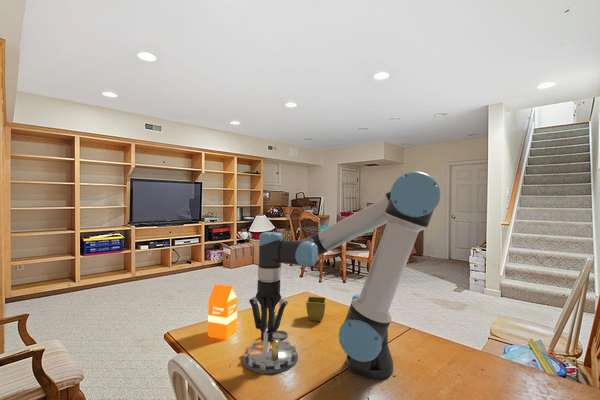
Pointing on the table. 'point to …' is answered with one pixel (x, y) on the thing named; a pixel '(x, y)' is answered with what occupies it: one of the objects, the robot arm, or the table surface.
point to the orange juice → (222, 312)
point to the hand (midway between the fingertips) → (266, 350)
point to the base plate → (268, 371)
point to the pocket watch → (278, 334)
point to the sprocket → (270, 355)
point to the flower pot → (315, 308)
